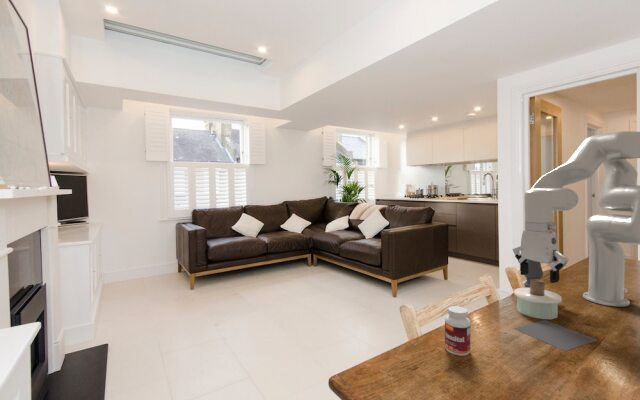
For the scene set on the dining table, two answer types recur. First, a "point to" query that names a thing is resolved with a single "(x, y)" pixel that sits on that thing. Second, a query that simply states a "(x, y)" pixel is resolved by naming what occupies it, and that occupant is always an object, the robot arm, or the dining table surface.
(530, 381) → the dining table surface
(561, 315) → the dining table surface
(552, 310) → the bowl
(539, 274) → the candle holder
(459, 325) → the pill bottle
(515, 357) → the dining table surface
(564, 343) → the mat
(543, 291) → the lid
